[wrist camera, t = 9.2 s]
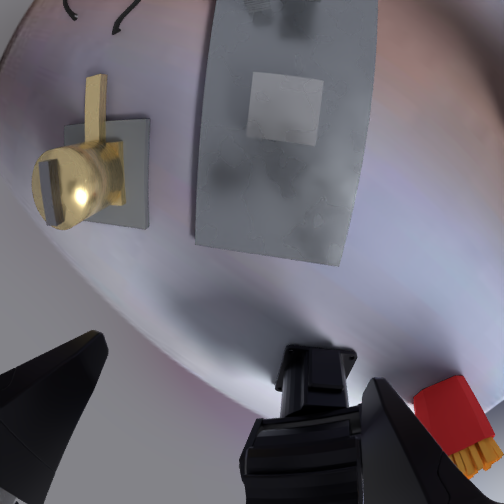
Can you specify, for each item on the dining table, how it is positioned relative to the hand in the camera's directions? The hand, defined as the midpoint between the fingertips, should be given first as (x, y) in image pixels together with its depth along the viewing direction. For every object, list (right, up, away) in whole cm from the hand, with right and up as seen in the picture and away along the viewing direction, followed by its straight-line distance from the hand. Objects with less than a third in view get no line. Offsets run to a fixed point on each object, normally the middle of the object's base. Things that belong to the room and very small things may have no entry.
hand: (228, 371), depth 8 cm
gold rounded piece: (-10, +12, +9) cm, 18 cm away
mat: (-11, +10, +11) cm, 18 cm away
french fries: (+23, -13, +16) cm, 31 cm away
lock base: (+3, +12, +7) cm, 15 cm away
